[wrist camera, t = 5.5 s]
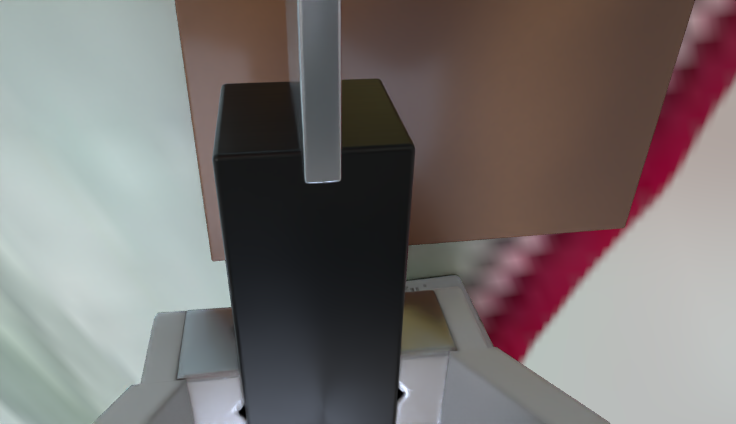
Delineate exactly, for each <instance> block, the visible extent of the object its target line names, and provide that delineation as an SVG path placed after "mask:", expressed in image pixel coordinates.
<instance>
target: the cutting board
mask: <svg viewBox="0 0 736 424" xmlns="http://www.w3.org/2000/svg"><path fill="white" fill-rule="evenodd" d="M694 1H695V0H342V80H347V79H375V78H377V79H380V80H381V81H382V83H383V85H384V87H385V89H386V91H387V93H388V95H389V97H390V99H391V101H392V103H393V105H394V107H395V109H396V111H397V113H398V115H399V116H400V118H401V120H402V122H403V124H404V126H405V128H406V130H407V132H408V134H409V136H410V138H411V140H412V142H413V144H414V146H415V162H414V176H413V190H412V204H411V217H410V231H409V245H420V244H433V243H445V242H457V241H470V240H482V239H495V238H507V237H519V236H532V235H544V234H556V233H569V232H581V231H594V230H606V229H618V228H624V227H625V225H626V221H627V218H628V215H629V212H630V208H631V205H632V202H633V199H634V195H635V192H636V189H637V186H638V183H639V179H640V176H641V173H642V170H643V166H644V163H645V160H646V157H647V153H648V150H649V147H650V144H651V140H652V137H653V134H654V131H655V128H656V124H657V121H658V118H659V115H660V111H661V108H662V105H663V102H664V98H665V95H666V92H667V89H668V85H669V82H670V79H671V76H672V73H673V69H674V66H675V63H676V60H677V56H678V53H679V50H680V47H681V43H682V40H683V37H684V34H685V31H686V27H687V24H688V21H689V18H690V14H691V11H692V8H693V5H694ZM175 6H176V13H177V20H178V27H179V34H180V41H181V48H182V55H183V62H184V69H185V76H186V83H187V90H188V97H189V104H190V111H191V118H192V125H193V132H194V139H195V146H196V153H197V161H198V168H199V175H200V182H201V189H202V196H203V203H204V210H205V217H206V224H207V231H208V238H209V245H210V252H211V259H212V261H222V260H225V254H224V246H223V238H222V231H221V223H220V216H219V208H218V201H217V193H216V185H215V178H214V170H213V163H212V156H213V148H214V140H215V132H216V124H217V116H218V108H219V100H220V92H221V87H222V85H224V84H231V83H260V82H289V81H290V80H289V66H288V46H287V26H286V6H285V0H175Z"/></svg>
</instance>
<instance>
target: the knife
mask: <svg viewBox="0 0 736 424" xmlns="http://www.w3.org/2000/svg"><path fill="white" fill-rule="evenodd" d="M285 6H286V26H287V46H288V66H289V80H290V81H289V82H260V83H231V84H224V85H222V87H221V92H220V100H219V108H218V116H217V124H216V132H215V140H214V148H213V156H212V163H213V170H214V178H215V185H216V193H217V201H218V208H219V216H220V223H221V231H222V238H223V246H224V254H225V261H226V269H227V276H228V284H229V291H230V299H231V307H232V314H233V322H234V329H235V337H236V344H237V352H238V360H239V367H240V375H241V382H242V390H243V397H244V405H245V413H246V420H247V424H396V410H397V396H398V382H399V369H400V355H401V341H402V327H403V314H404V300H405V286H406V272H407V259H408V245H409V231H410V217H411V204H412V190H413V176H414V162H415V146H414V144H413V142H412V140H411V138H410V136H409V134H408V132H407V130H406V128H405V126H404V124H403V122H402V120H401V118H400V116H399V115H398V113H397V111H396V109H395V107H394V105H393V103H392V101H391V99H390V97H389V95H388V93H387V91H386V89H385V87H384V85H383V83H382V81H381V80H380V79H377V78H375V79H347V80H342V0H285Z"/></svg>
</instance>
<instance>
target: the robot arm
mask: <svg viewBox="0 0 736 424" xmlns="http://www.w3.org/2000/svg"><path fill="white" fill-rule="evenodd" d="M92 424H247V420H246V413H245V405H244V397H243V390H242V382H241V375H240V367H239V360H238V352H237V344H236V337H235V329H234V322H233V314H232V307H228V308H213V309H198V310H188V311H175V312H161V313H157V315H156V316H155V318H154V320H153V325H152V330H151V335H150V340H149V345H148V349H147V354H146V359H145V364H144V369H143V374H142V378H141V383H140V384H138V385H131V386H130V387H129V388H128V389H127V390H126V391H125V392H124V393H123V394H122V395H121V396H120V397H119V398H118V399H117V400H116V401H115V402H114V403H113V404H112V405H111V406H110V407H109V408H107V409H106V410H105V411H104V412H103V413H102V414H101V415H100V416H99V417H98V418H97V419H96V420H95V421H94V422H93V423H92ZM396 424H610V423H609V422H608V421H607V420H605V419H604V418H602V417H601V416H599V415H598V414H596V413H595V412H593V411H592V410H590V409H589V408H587V407H586V406H584V405H583V404H581V403H580V402H578V401H577V400H575V399H574V398H572V397H571V396H569V395H568V394H566V393H565V392H563V391H561V390H560V389H559V388H557V387H556V386H554V385H553V384H551V383H549V382H548V381H547V380H545V379H544V378H542V377H541V376H539V375H537V374H536V373H535V372H533V371H531V370H530V369H528V368H527V367H526V366H524V365H523V364H521V363H520V362H518V361H517V360H515V359H514V358H512V357H511V356H509V355H507V354H506V353H504V352H503V351H501V350H500V349H498V348H497V347H491V348H488V346H487V343H486V341H485V339H484V337H483V335H482V333H481V330H480V328H479V326H478V324H477V322H476V320H475V318H474V315H473V313H472V311H471V309H470V307H469V305H468V302H467V300H466V298H465V296H464V294H463V292H462V290H461V289H460V288H459V287H458V286H455V287H446V288H436V289H431V290H422V291H411V292H405V300H404V314H403V327H402V341H401V355H400V369H399V382H398V396H397V410H396Z"/></svg>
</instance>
